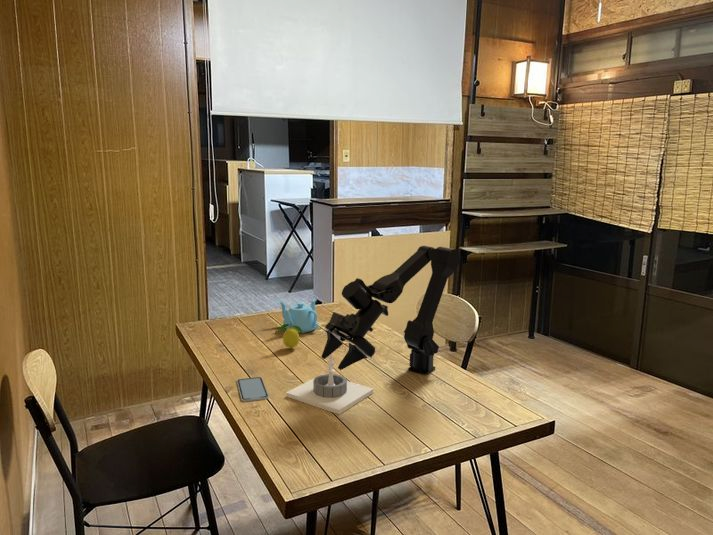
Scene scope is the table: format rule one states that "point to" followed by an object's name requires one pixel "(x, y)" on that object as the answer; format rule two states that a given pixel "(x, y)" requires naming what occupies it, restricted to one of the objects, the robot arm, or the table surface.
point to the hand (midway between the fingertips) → (330, 363)
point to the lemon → (291, 335)
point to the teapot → (300, 316)
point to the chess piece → (330, 371)
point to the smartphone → (252, 389)
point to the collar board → (330, 402)
